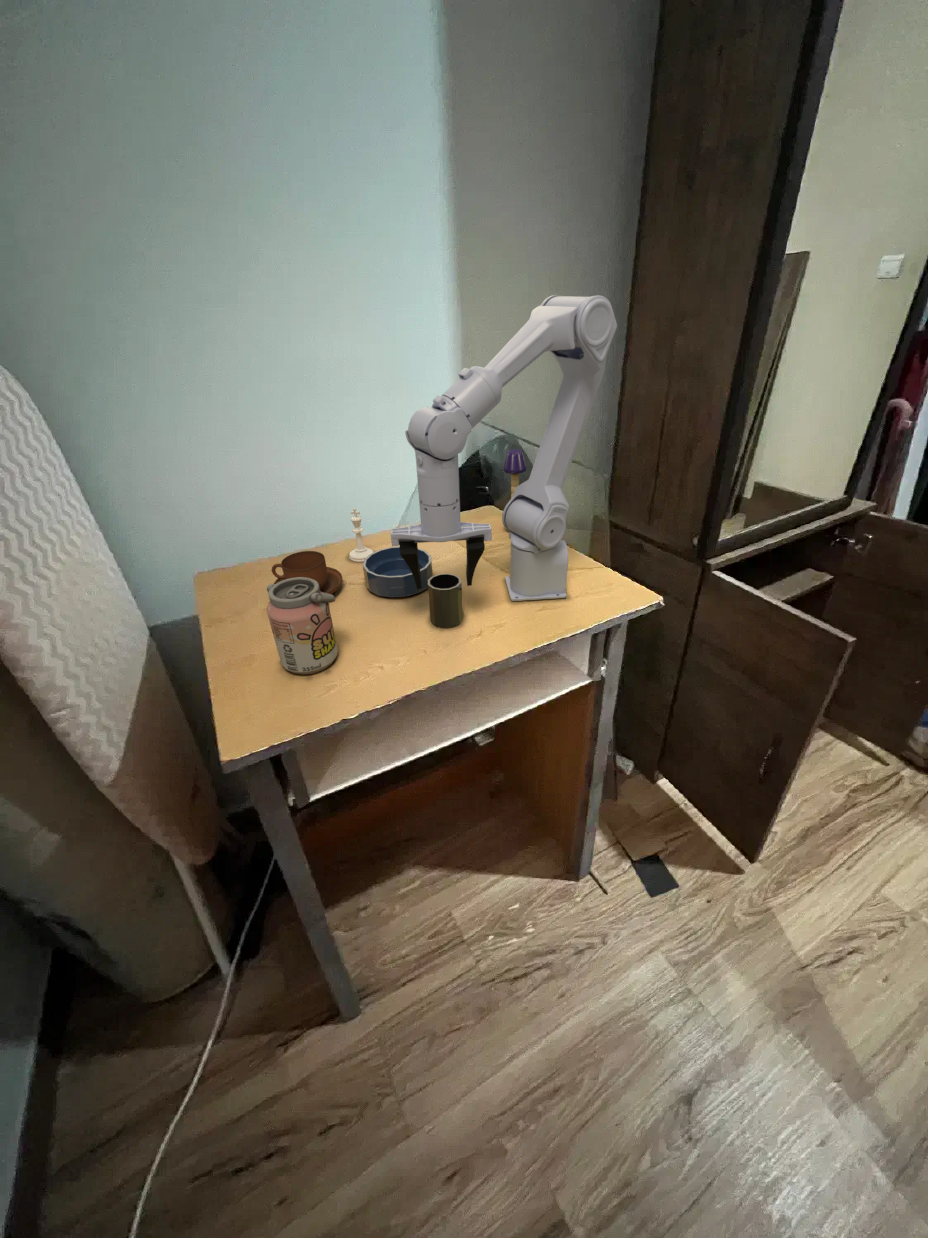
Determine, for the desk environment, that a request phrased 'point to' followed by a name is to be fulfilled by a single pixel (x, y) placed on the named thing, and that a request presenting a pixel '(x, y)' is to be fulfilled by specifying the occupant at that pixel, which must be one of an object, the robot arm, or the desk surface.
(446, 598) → the cup
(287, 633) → the beverage can
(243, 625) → the desk surface
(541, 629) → the desk surface
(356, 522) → the chess piece
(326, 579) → the cup and saucer
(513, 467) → the toy lamp
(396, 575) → the bowl
